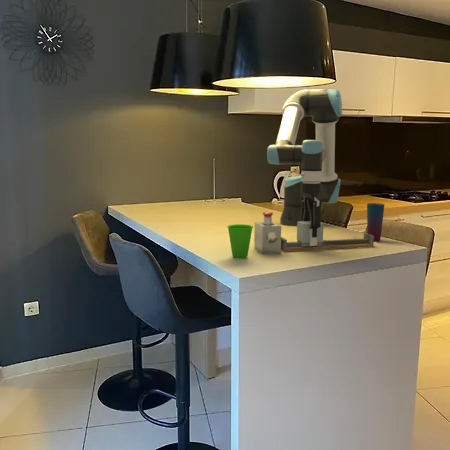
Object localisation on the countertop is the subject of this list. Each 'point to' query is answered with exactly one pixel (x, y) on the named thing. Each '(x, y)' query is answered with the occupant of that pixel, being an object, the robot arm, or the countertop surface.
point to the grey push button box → (267, 238)
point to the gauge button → (267, 218)
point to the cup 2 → (375, 219)
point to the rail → (306, 248)
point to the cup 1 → (240, 239)
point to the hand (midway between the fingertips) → (309, 243)
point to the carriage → (308, 233)
